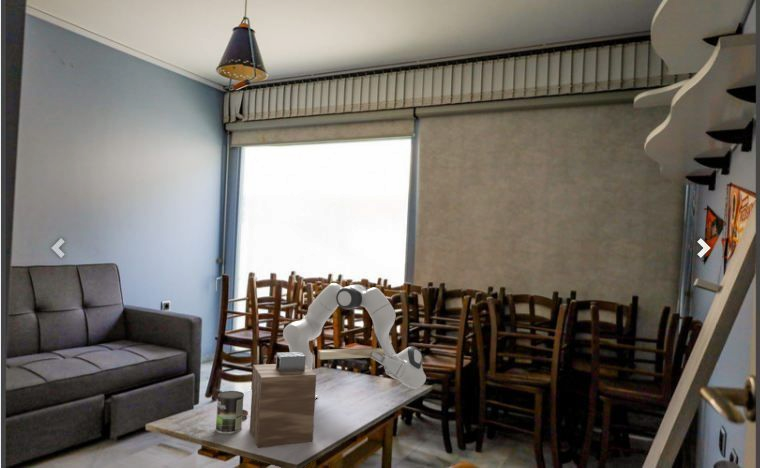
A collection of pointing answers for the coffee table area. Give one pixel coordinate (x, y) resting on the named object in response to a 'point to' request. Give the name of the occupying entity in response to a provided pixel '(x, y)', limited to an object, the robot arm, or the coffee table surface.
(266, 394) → the brown tall wooden box
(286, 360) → the metal tunnel
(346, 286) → the robot arm
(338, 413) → the coffee table surface
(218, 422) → the coffee can
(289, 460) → the coffee table surface
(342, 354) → the beech bar
